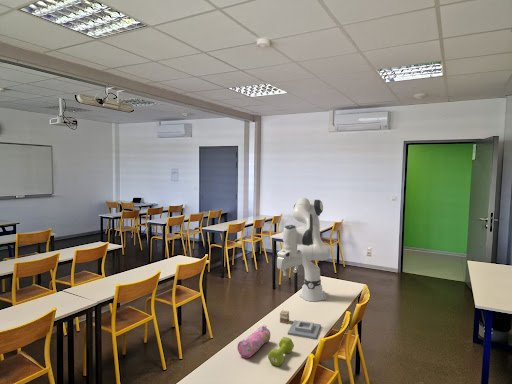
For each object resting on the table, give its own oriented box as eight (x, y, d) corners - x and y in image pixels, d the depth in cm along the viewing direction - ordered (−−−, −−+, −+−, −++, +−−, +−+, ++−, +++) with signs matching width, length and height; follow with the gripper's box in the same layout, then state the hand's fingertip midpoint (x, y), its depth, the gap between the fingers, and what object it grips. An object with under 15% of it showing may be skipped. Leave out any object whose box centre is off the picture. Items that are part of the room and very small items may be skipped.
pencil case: (258, 337, 181) (258, 322, 180) (272, 342, 176) (272, 326, 176) (235, 356, 163) (235, 338, 162) (251, 361, 158) (250, 343, 158)
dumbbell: (281, 369, 152) (281, 354, 152) (266, 364, 156) (266, 349, 155) (295, 352, 166) (295, 338, 166) (281, 348, 170) (280, 334, 170)
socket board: (294, 322, 199) (294, 317, 199) (320, 326, 193) (320, 321, 193) (287, 334, 184) (287, 328, 184) (315, 339, 178) (315, 333, 178)
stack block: (282, 319, 203) (282, 310, 203) (289, 320, 201) (289, 311, 201) (280, 322, 199) (279, 313, 199) (287, 323, 197) (287, 314, 197)
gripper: (297, 248, 210) (297, 269, 211) (275, 253, 196) (275, 276, 197) (304, 250, 206) (304, 271, 206) (282, 255, 192) (282, 278, 192)
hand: (290, 274), depth 201 cm, fingers open, 8 cm apart
